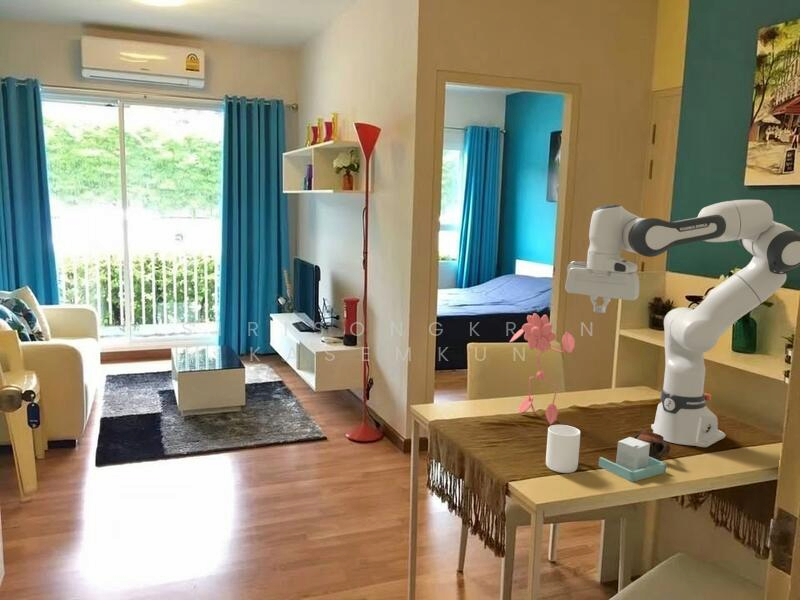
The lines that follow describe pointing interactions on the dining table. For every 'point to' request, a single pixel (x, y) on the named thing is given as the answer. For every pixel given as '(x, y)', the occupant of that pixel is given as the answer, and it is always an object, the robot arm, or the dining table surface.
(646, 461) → the skincare box
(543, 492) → the dining table surface
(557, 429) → the mug
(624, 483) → the dining table surface
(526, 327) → the pink flower stem
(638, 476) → the u-shaped bracket
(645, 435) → the pottery mug
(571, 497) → the dining table surface
